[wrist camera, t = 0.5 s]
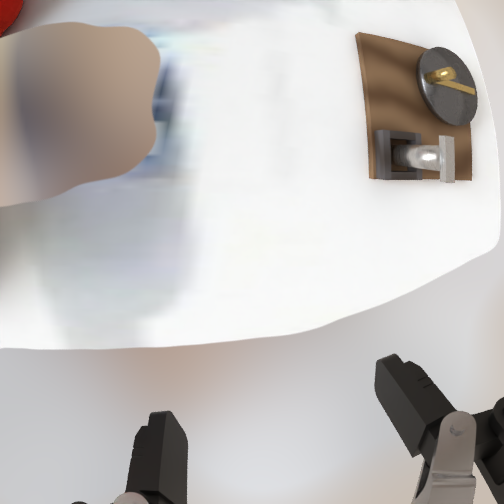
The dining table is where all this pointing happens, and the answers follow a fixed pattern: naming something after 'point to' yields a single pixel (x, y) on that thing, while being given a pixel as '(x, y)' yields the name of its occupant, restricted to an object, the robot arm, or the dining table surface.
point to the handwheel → (446, 86)
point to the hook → (428, 157)
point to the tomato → (8, 13)
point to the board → (402, 111)
